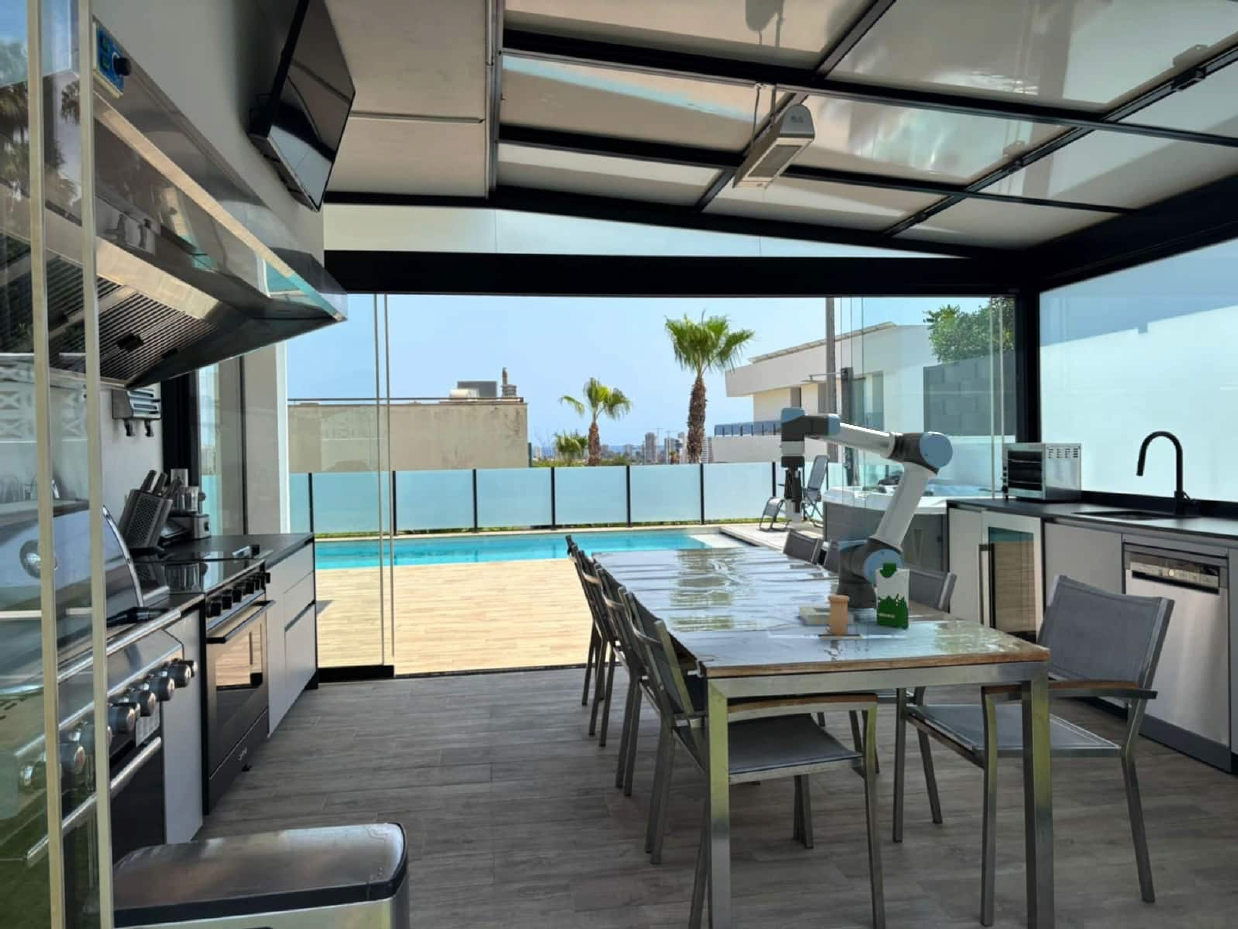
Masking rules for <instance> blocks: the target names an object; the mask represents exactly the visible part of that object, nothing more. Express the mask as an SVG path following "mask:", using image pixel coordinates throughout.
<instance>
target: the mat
mask: <svg viewBox="0 0 1238 929" xmlns="http://www.w3.org/2000/svg"><path fill="white" fill-rule="evenodd" d="M831 634H832V633H830V634H829V633H828V634H827V633H826V634H825V633H824V634H823V633H822V634H816V635H817V636H818V637H819V638H820V639H821V641H864V640H865V639H864V637H863V636H862V635H860V634H855V633H854V634H851V633H850V634H849V633H848V634H847V633H846V634H847V635H845V636H835V635H831Z"/></svg>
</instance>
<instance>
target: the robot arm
mask: <svg viewBox="0 0 1238 929" xmlns="http://www.w3.org/2000/svg"><path fill="white" fill-rule="evenodd" d="M780 412H781V413H780V421H779V423H780V444H779V445H778V448H779V449H780V454H781V455H782V456H780V467H781V468H783V469H785V471H784V472H785V478H784V491H783V497H784V520H791V522H792V524H803V523H802V501H804V498H803V488H802V475H801V474H802V472H801V470H799V468H800V469H801V468H805V466H806V465H805V464H806V460H805V459H806V458H805V456H804V455H805V453H806V450H805V449H806V448H805V447H806V444H805V443H806V442H805V440H806V439H810V440H816V441H819V442H824V443H829V444H831V445H838V446H842V447H846V448H850V449H855V450H859V451H863V452H868V453H870V454H871V453H872V454H875V455H879V457H880V458H882V459H886V460H888V461H889V460H890V461H892V462H893V461H894V462H897V463H898V464H901V465H902V467H903V472H902V474H901V476H900V478H899V481H898V483H897V486H896V488H895V490H894V491H893V494H892V496H891V498H890V500H889V503H888V505H887V508H886V510H885V511H884V514H883V517H882V518H881V520H880V523H879V525H878V528H877V530H876V532H875V533H874V534H872V535H869V536H868V538H867V540H846V541H844V540H843V541H840V542H839V544H838V547H837V549H838V550H837V559H838V564H837V565H838V566H837V568H838V575H837V576H838V582H837V583H838V585H837V588H836V591H835V594H834V595H844V596H848V597H849V601H848V602H847V609H848V608H849V609H874V610H877V591H876V589H875V586H874V585H877V581H876V571H875V570H877V569H881V568H883V563H896V564H897V568H900V569H903V563H902V559H901V556H902V554H903V549H902V547H901V544H902V541H903V540H904V538H905V535H906V533H907V531H908V528H909V527H910V524H911V523H912V522H911V521H912V520H913V518H914V515H915V513H916V511H917V509H918V506H919V504H920V501H921V500H922V497H923V495H924V493H925V491H926V489H927V486H928V484H929V482H930V480H933V479H935V478H937V476H938V474H939V471H940V468H944V467H946V466H948V464H950V463H951V461H952V459H953V456H954V448H953V445H952V444H951V443H952V442H951V440H950V438H948V437H947V436H946V435H945V434H943V433H940V432H935V431H927V432H896V431H895V432H894V431H889V430H888V431H886V432H881V431H876V430H874V429H873V430H872V429H869V428H868V429H867V428H864V427H860V426H855V425H850V424H846V423H842V422H841V419H840V416H839V415H838V414H836V413H829V412H827V413H806V412H805V408H804V407H801V406H800V407H799V406H798V407H797V406H795V407H793V406H792V407H790V406H789V407H784V408H782V409H781V410H780Z"/></svg>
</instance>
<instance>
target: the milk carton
mask: <svg viewBox="0 0 1238 929" xmlns="http://www.w3.org/2000/svg"><path fill="white" fill-rule="evenodd" d="M875 571H876V581H877V584H876V595H877V609H876V626H880V627H888V628H894V629H902V630H905V629H908V628H909V580H910V569H909V568H908V569H906V568H902V569H900V568H897V564H896V563H883V568H881V569H877V570H875Z"/></svg>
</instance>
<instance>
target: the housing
mask: <svg viewBox="0 0 1238 929" xmlns="http://www.w3.org/2000/svg"><path fill="white" fill-rule="evenodd" d="M798 606H799V605H798ZM798 610H799V611H798V615H799V617H800V618H801V619H802V621H804V623H806V625H808V626H811V625H812V626H820V625H821V626H825V625H827V626H830V605H800V606H799V607H798ZM854 623H855V622H854V613H852V612H850V610H849V609H847V626H848V625H851V626H852V625H855V624H854Z"/></svg>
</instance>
